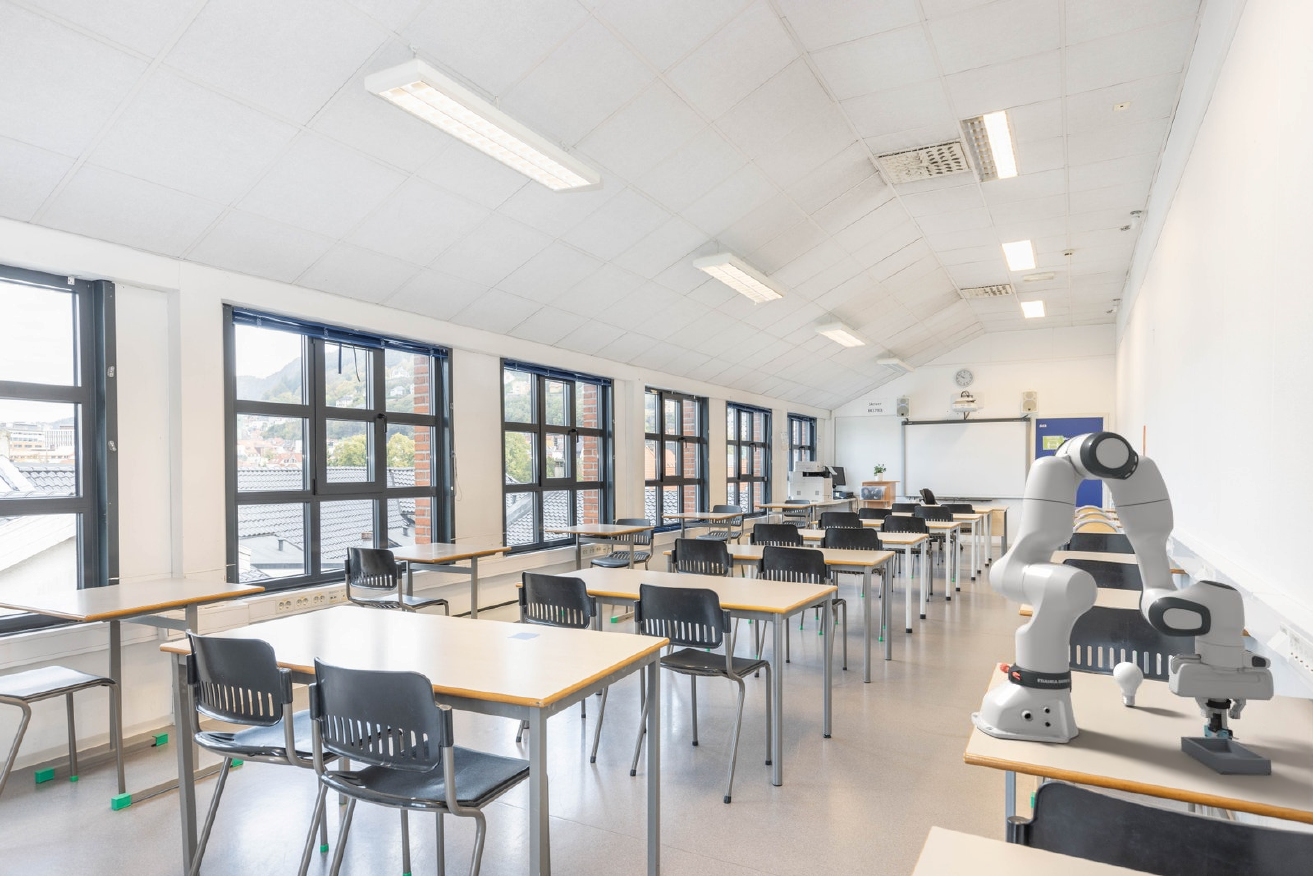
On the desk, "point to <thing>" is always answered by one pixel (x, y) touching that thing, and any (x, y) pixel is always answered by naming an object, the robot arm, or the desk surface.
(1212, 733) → the push button
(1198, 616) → the robot arm
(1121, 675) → the lightbulb
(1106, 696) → the desk surface
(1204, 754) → the tray
